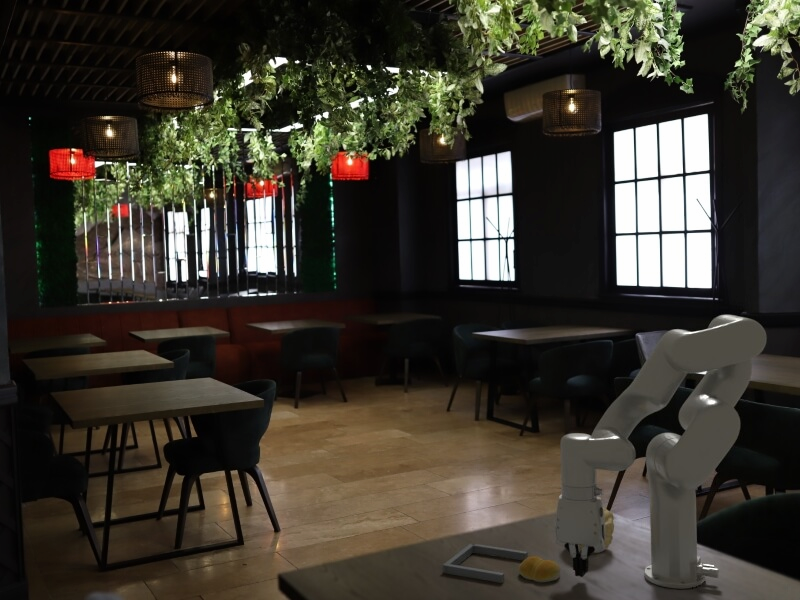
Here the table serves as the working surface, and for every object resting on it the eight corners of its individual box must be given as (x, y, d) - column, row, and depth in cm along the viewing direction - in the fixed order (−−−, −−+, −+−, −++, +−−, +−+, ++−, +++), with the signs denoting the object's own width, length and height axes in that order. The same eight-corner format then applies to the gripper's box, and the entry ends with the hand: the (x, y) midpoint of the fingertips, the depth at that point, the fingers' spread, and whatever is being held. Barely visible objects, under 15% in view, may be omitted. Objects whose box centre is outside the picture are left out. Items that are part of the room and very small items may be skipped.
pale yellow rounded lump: (606, 560, 192) (604, 515, 191) (556, 552, 198) (555, 508, 198) (620, 545, 202) (619, 501, 201) (573, 537, 208) (572, 495, 207)
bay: (527, 559, 195) (527, 551, 195) (502, 583, 182) (502, 575, 181) (471, 550, 202) (471, 543, 202) (442, 572, 189) (442, 565, 189)
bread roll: (550, 586, 179) (549, 568, 179) (514, 577, 185) (513, 560, 185) (567, 574, 186) (567, 556, 185) (532, 566, 191) (531, 549, 191)
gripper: (618, 490, 179) (619, 574, 180) (551, 483, 186) (553, 563, 187) (608, 500, 172) (610, 586, 173) (540, 492, 180) (542, 574, 181)
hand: (580, 574), depth 180 cm, fingers closed
